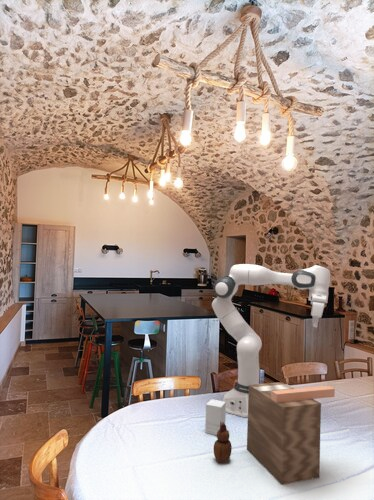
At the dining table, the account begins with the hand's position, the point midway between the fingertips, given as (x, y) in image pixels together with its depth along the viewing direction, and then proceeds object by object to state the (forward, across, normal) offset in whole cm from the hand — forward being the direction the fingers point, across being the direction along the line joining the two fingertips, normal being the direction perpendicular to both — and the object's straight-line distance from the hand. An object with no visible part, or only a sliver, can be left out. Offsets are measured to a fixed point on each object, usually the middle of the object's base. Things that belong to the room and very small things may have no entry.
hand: (314, 326), depth 171 cm
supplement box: (+53, +21, -37) cm, 68 cm away
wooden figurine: (+54, +43, -30) cm, 75 cm away
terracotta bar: (+25, +40, -3) cm, 47 cm away
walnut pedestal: (+51, +36, -8) cm, 63 cm away
